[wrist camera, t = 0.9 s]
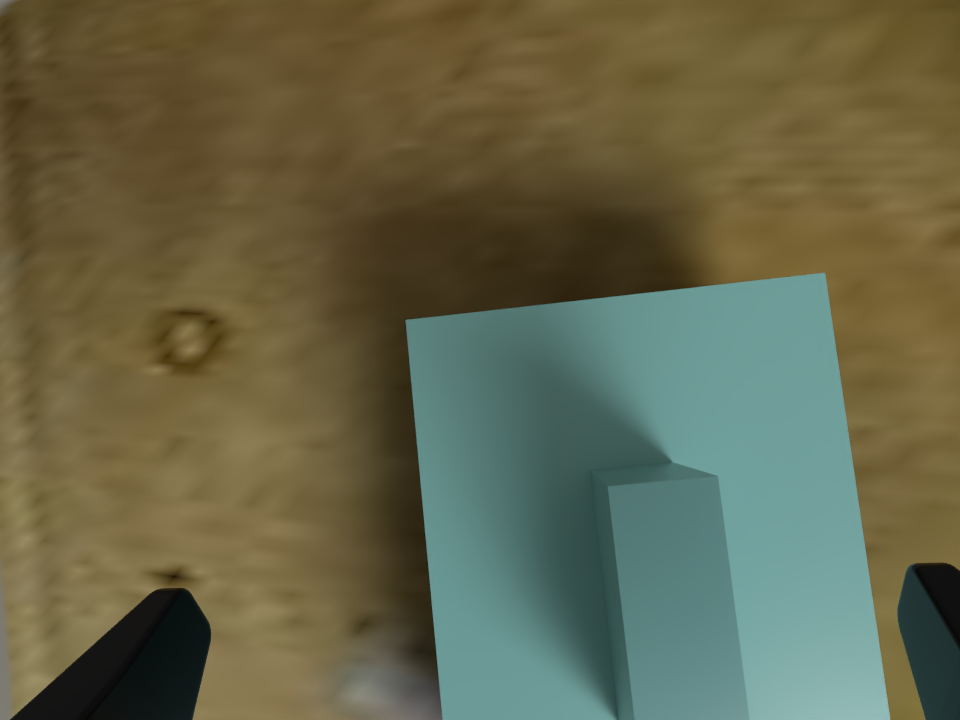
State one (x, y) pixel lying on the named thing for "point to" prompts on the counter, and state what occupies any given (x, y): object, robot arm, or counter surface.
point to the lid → (645, 509)
